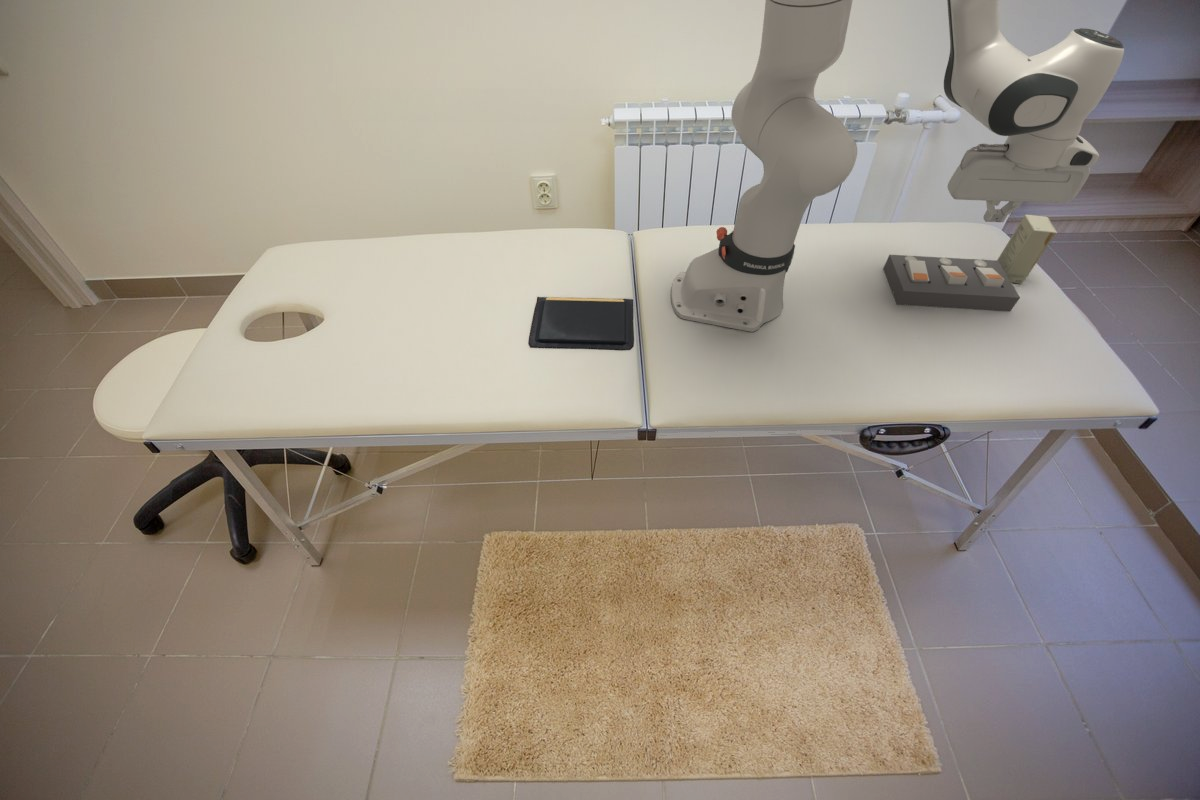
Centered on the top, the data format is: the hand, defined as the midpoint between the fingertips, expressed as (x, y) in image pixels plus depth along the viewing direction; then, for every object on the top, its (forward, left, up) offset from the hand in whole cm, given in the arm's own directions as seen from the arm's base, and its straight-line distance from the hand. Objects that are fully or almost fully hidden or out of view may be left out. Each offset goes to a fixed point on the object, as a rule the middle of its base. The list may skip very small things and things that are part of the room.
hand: (992, 220), depth 103 cm
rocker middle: (0, +2, -14) cm, 14 cm away
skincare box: (+15, +8, -17) cm, 24 cm away
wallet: (-74, -15, -18) cm, 77 cm away
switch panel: (0, +2, -17) cm, 17 cm away
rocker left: (-7, +2, -14) cm, 16 cm away
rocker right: (+7, +2, -14) cm, 15 cm away
